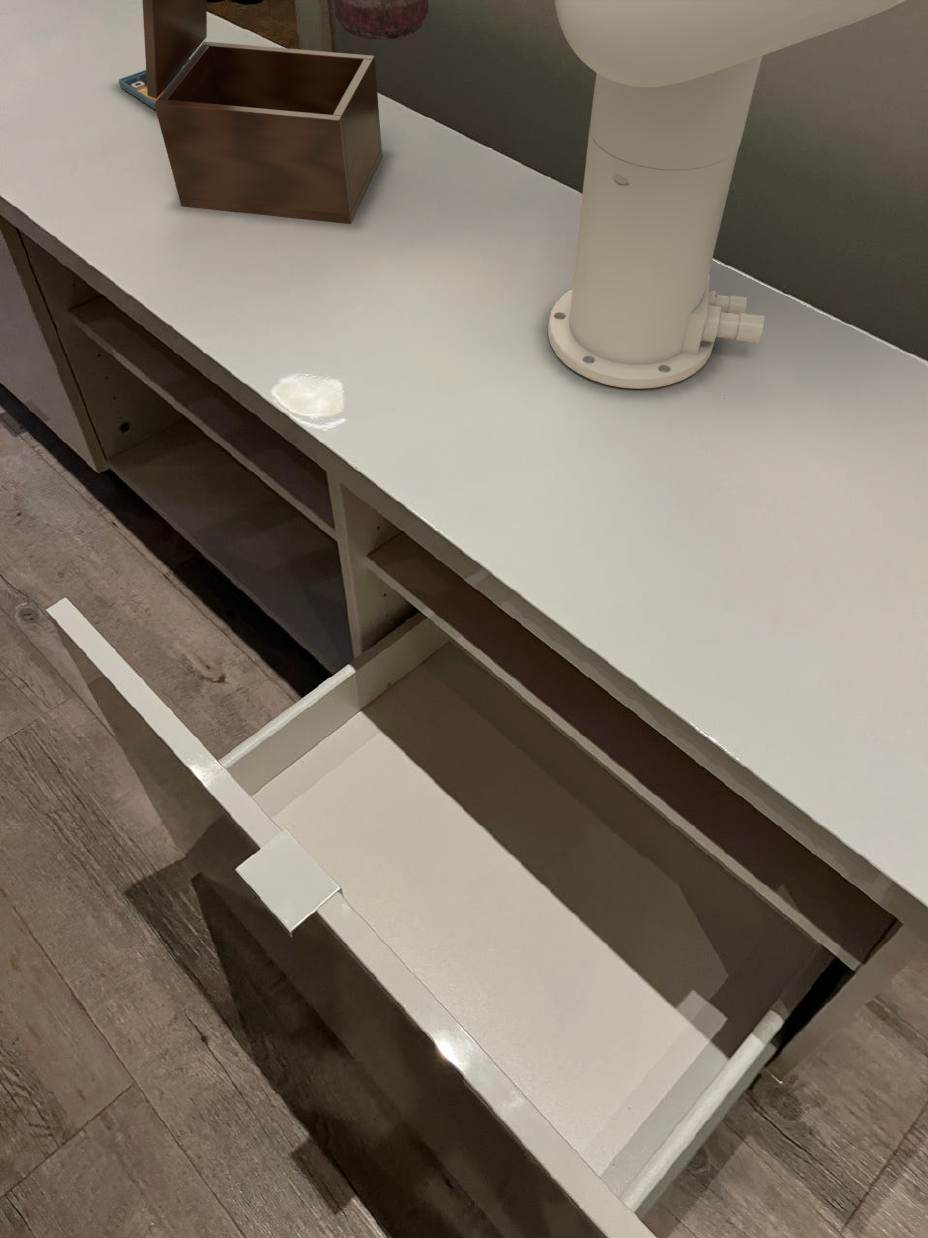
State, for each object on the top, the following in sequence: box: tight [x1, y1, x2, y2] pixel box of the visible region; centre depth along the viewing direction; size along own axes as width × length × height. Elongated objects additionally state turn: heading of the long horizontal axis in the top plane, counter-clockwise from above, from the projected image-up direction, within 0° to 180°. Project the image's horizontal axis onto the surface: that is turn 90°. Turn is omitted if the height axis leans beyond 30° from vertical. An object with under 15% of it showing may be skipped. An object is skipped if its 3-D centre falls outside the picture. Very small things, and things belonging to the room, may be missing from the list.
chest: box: [154, 41, 383, 224], centre depth 81 cm, size 16×12×9 cm
